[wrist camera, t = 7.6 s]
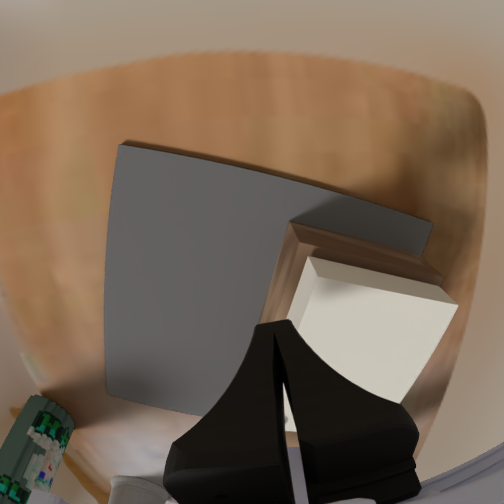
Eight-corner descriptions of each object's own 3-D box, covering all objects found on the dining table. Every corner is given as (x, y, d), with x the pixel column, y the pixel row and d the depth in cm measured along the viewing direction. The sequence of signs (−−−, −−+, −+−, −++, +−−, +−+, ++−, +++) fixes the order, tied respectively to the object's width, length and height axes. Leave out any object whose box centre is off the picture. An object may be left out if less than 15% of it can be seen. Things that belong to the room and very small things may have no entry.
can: (80, 434, 29) (44, 536, 15) (40, 423, 29) (-1, 514, 15) (63, 402, 27) (14, 513, 13) (22, 390, 27) (-32, 487, 13)
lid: (368, 409, 21) (378, 434, 19) (254, 401, 20) (256, 429, 18) (438, 286, 18) (459, 306, 15) (307, 255, 16) (318, 278, 14)
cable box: (337, 410, 27) (348, 447, 23) (233, 400, 26) (232, 441, 22) (416, 253, 21) (449, 281, 17) (288, 220, 20) (301, 246, 16)
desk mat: (329, 426, 29) (329, 429, 28) (108, 391, 26) (107, 394, 26) (430, 222, 21) (433, 223, 21) (121, 144, 18) (118, 144, 18)
